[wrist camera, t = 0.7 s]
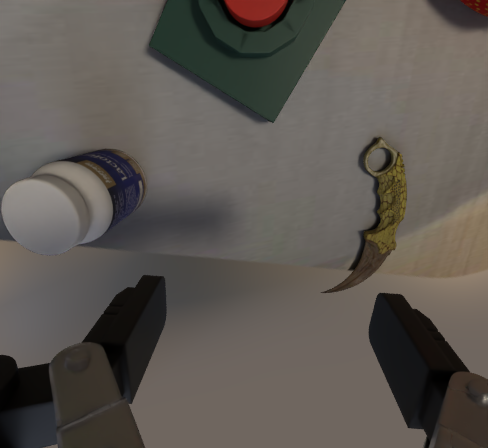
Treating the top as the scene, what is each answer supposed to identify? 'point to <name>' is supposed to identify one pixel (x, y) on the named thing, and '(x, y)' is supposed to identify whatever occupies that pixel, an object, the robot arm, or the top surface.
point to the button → (255, 11)
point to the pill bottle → (73, 200)
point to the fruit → (477, 6)
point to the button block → (245, 48)
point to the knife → (381, 217)
